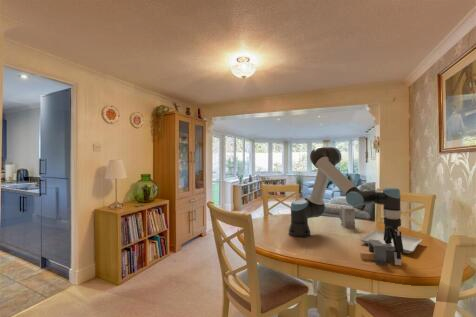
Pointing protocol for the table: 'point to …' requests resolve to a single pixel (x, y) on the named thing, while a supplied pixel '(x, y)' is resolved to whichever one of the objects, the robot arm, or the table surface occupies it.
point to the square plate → (407, 241)
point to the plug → (389, 255)
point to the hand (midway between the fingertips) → (393, 260)
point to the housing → (378, 252)
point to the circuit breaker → (347, 217)
